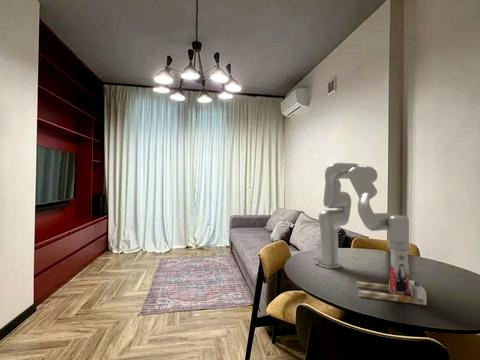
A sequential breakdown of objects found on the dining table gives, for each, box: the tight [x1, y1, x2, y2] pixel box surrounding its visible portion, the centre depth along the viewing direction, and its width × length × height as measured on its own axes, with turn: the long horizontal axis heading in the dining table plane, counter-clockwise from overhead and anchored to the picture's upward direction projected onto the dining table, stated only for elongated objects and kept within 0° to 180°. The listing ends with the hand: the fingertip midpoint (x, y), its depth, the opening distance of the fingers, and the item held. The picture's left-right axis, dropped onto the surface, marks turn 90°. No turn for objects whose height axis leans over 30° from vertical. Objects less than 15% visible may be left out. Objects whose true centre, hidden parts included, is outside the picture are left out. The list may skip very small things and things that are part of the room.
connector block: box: [409, 279, 428, 306], centre depth 109 cm, size 3×12×7 cm, turn 161°
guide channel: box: [355, 281, 425, 306], centre depth 112 cm, size 23×12×2 cm, turn 71°
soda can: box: [388, 264, 410, 296], centre depth 111 cm, size 7×7×12 cm
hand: (398, 287), depth 111 cm, fingers closed on soda can, 6 cm apart
